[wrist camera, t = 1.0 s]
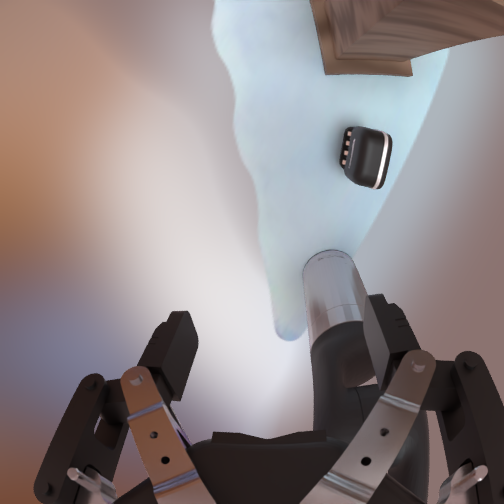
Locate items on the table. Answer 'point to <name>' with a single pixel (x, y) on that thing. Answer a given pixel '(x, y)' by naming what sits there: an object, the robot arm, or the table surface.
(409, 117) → the table surface
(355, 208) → the table surface
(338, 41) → the pedestal
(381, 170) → the battery charger
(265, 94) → the table surface
